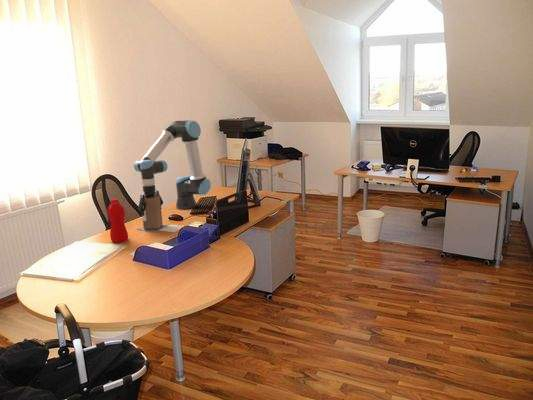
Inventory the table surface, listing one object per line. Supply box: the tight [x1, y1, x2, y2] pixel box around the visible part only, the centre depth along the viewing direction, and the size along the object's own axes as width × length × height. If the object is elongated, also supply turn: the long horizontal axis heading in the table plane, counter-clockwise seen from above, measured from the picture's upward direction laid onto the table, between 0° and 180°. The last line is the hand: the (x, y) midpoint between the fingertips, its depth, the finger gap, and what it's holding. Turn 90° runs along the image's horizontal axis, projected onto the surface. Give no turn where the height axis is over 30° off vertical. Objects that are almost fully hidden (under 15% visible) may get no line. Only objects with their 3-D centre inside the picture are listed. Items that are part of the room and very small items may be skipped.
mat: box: [159, 224, 185, 233], centre depth 280 cm, size 12×12×1 cm
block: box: [142, 194, 164, 230], centre depth 281 cm, size 10×10×20 cm
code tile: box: [137, 224, 169, 233], centre depth 284 cm, size 14×14×1 cm
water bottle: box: [106, 198, 129, 244], centre depth 259 cm, size 9×11×25 cm
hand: (152, 217), depth 282 cm, fingers open, 13 cm apart
